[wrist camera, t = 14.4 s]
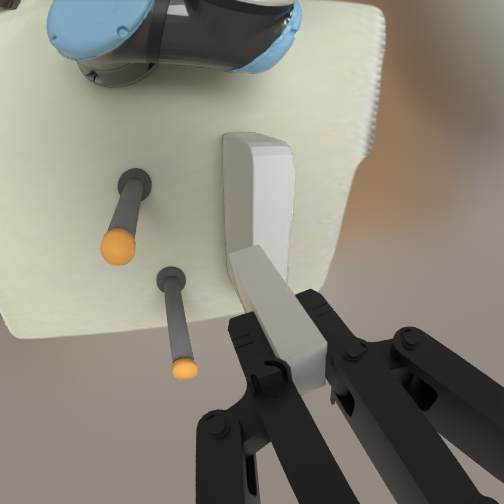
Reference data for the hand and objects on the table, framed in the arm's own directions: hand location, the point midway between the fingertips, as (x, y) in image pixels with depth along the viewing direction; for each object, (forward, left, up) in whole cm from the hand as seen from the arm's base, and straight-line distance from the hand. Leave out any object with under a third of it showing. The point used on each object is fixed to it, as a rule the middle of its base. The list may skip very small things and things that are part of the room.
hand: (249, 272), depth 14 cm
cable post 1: (+3, -10, -38) cm, 40 cm away
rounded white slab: (+13, +7, -39) cm, 41 cm away
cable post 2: (+24, -10, -38) cm, 46 cm away
